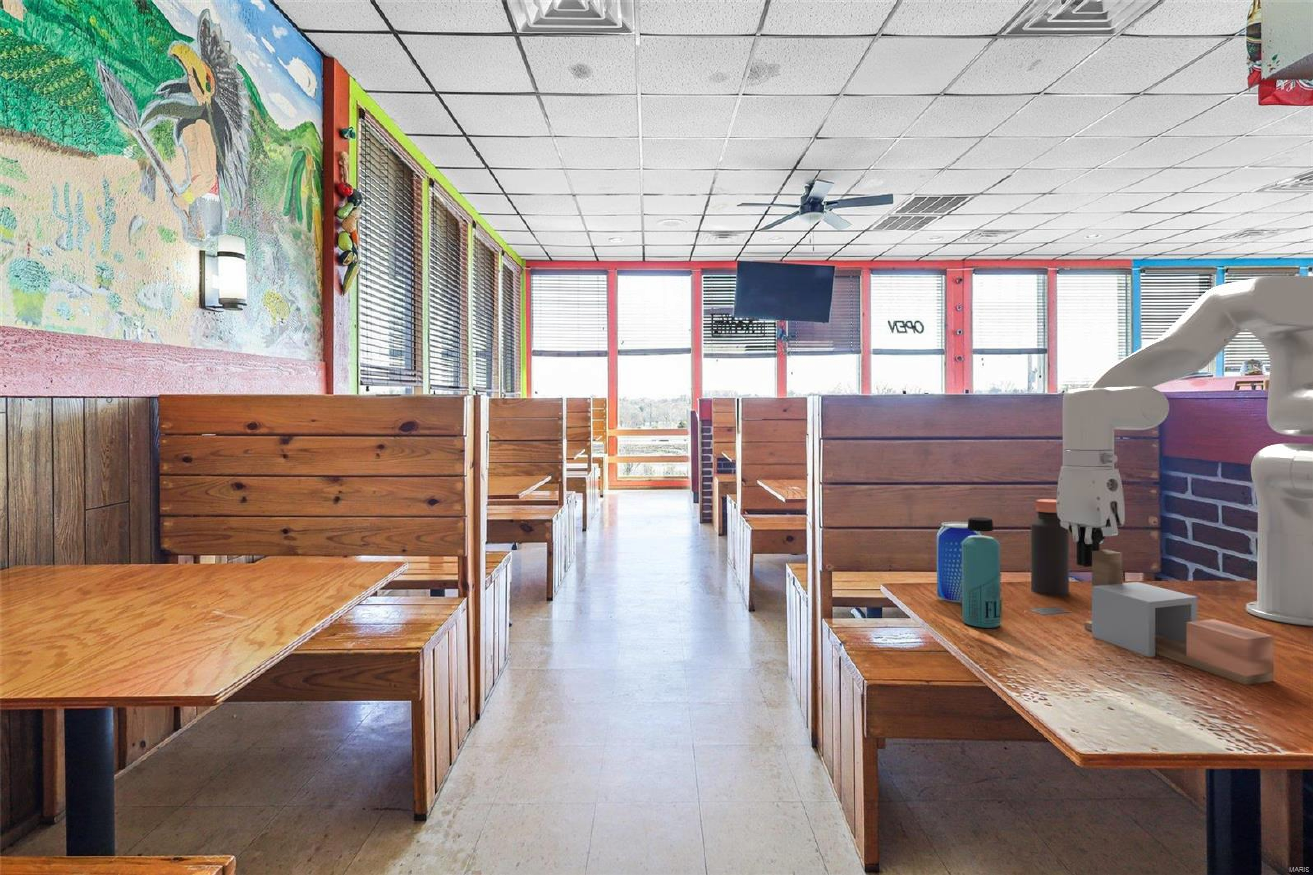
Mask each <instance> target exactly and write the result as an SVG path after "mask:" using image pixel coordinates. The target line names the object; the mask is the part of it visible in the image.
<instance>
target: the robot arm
mask: <svg viewBox="0 0 1313 875" xmlns="http://www.w3.org/2000/svg"><path fill="white" fill-rule="evenodd" d="M1245 330H1247V331H1248V332H1249V333H1250V334H1252V335H1253V336H1254V337H1255V338H1256V339H1257V340H1258V341H1259V342H1260V343H1261V345H1263V347H1264V349H1265V350H1266V352H1267V355H1268V358H1269V379H1268V392H1267V404H1266V420H1267V424H1268V426H1269V427H1270V428H1271V430H1273V431H1275V432H1276V433H1277V434H1282V435H1285V436H1295V437H1313V275H1266V276H1258V277H1253V278H1249V279H1245V280H1238V281H1234V282H1229V283H1223V284H1220V285H1217V286H1215V287H1212V288H1210V289H1209V290H1207V291H1205V293H1203V294H1202V295H1201V296H1200V297H1199V298H1198V299H1197V300H1196V301H1195V302H1194V303H1193V304H1192V305H1191V306H1190V307H1189V308H1188V309H1187V310H1186V311H1185V312H1184V313H1183V314H1182V315H1181V316H1180V317H1179V318H1178V319H1177V320H1176V321H1175V322H1174V323H1173V324H1171V326H1170V327H1169V328H1168V329H1167V330H1166V331H1165V332H1164V333H1163V334H1162V335H1161V336H1160V337H1159V338H1157V339H1156V340H1154V341H1152V342H1150V343H1148V344H1147V345H1145V346H1143V347H1141V348H1140V349H1138V350H1137V351H1135V352H1133V353H1132V354H1130V355H1128V356H1126V357H1125V358H1123V359H1121V360H1120V361H1118V362H1117V363H1115V364H1113V365H1112V366H1111V367H1109V368H1108V369H1107V370H1106V371H1104V373H1102V374H1101V375H1100V376H1099V377H1098V378H1097V379H1096V380H1095V381H1094V382H1093V383H1092V384H1091V385H1090V386H1089V388H1076V389H1075V388H1073V389H1070V390H1069V389H1068V390H1067V391H1065V393H1064V394H1063V396H1062V466H1061V467H1060V471H1059V475H1058V480H1057V481H1058V482H1057V487H1056V488H1057V490H1056V500H1057V515H1058V518H1059V519H1060V520H1061V522H1060V525H1061V526H1062V527H1064V528H1066V529H1068V530H1069V533H1070V534H1071V535H1072V539H1073V541H1074V542H1076V565H1078V566H1082V567H1085V568H1088V567H1092V551H1096V550H1100V544H1103V543H1104V539H1106V538H1107V537H1114V536H1118V535H1119V530H1118V527H1122V526H1124V524H1125V521H1126V515H1125V514H1126V513H1125V496H1124V495H1125V494H1124V489H1123V482H1122V478H1121V474H1120V472H1119V469H1118V468H1115V463H1117V462H1118V459H1119V458H1118V455H1116V454H1115V430H1122V431H1123V430H1124V431H1127V430H1128V431H1141V430H1142V431H1144V430H1149V429H1150V430H1151V429H1152V428H1155V427H1158V425H1160V424H1162V423H1163V422H1164V421H1165V419H1166V418H1167V416H1168V414H1169V412H1170V403H1169V400H1168V398H1167V397H1166V396H1165V395H1164V394H1163V392H1162V391H1160V390H1158V389H1156V388H1155V387H1157V386H1159V385H1162V384H1165V383H1169V382H1173V381H1175V380H1176V381H1177V380H1179V379H1182V378H1184V377H1187V376H1191V375H1193V374H1195V373H1197V372H1199V371H1202V370H1203V369H1205V368H1206V367H1207V366H1209V365H1210V363H1211V362H1212V361H1213V360H1214V359H1215V358H1216V357H1217V356H1218V355H1219V354H1220V353H1221V352H1222V351H1224V348H1226V347H1227V346H1228V345H1229V344H1230V343H1231V341H1233V340H1234V338H1236V337H1237V335H1238V334H1240V333H1241V332H1243V331H1245ZM1250 474H1251V475H1250V476H1251V480H1252V484H1253V487H1254V491H1255V495H1256V504H1257V506H1256V507H1257V574H1256V575H1257V578H1256V579H1257V580H1256V581H1257V582H1256V583H1257V585H1256V586H1257V587H1256V594H1257V596H1256V598H1257V599H1256V600H1255V601H1250V602H1248V603H1246V604H1245V611H1246V612H1248V613H1249V614H1251V615H1252V616H1256V617H1258V618H1262V619H1266V620H1270V621H1273V622H1274V621H1275V622H1279V623H1284V624H1290V625H1291V624H1292V625H1300V626H1310V627H1313V443H1298V442H1297V443H1295V442H1292V443H1291V442H1289V443H1288V442H1286V443H1277V444H1271V445H1268V446H1266V447H1264V448H1262V449H1260V450H1258V452H1257V453H1256V454H1255V455H1254V456H1253V458H1252V461H1251V464H1250Z"/></svg>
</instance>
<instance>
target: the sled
mask: <svg viewBox="0 0 1313 875" xmlns="http://www.w3.org/2000/svg"><path fill="white" fill-rule="evenodd" d="M1121 583H1123V552H1119V551H1114V550H1109V549H1099V550H1096V551H1092V566H1091V587H1092V586H1100V585H1111V584H1121ZM1084 629H1085V630H1086V631H1091V632H1092V620H1088V621H1084ZM1274 641H1275V636H1274V635H1272V634H1268V633H1265V632H1262V631H1257V630H1254V629H1249V628H1246V627H1243V626H1239V625H1235V624H1232V623H1228V622H1225V621H1221V620H1217V619H1214V618H1213V619H1202V620H1197V621H1193V622H1187V644H1184V643H1181V642H1178V641H1175V640H1172V639H1169V638H1166V637H1163V636H1160V635H1157V634H1155V655H1158V656H1162V657H1165V658H1168V659H1169V660H1173V661H1175V662H1178V663H1181V664H1185V665H1187V666H1190V667H1193V668H1194V669H1195V668H1196V669H1199V670H1202V671H1205V672H1207V673H1209V674H1213V675H1216V676H1219V677H1221V678H1225V679H1228V680H1230V681H1233V682H1235V683H1237V684H1241V685H1244V686H1248V685H1254V684H1261V683H1262V684H1263V683H1269V682H1274V676H1275V675H1274V674H1275V673H1274V669H1275V668H1274V667H1275V666H1274V663H1275V662H1274V661H1275V660H1274V657H1275V656H1274V653H1275V652H1274V651H1275V649H1274V648H1275V642H1274Z"/></svg>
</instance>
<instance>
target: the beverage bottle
mask: <svg viewBox="0 0 1313 875" xmlns="http://www.w3.org/2000/svg"><path fill="white" fill-rule="evenodd" d="M967 522H968V527H967V529H968V530H972V531H979V532H985V533H986V532H993V531H994V521H993V519H992V518H989V517H984V516H983V517H982V516H981V517H980V516H978V517H977V516H974V517H969V518H968V520H967ZM981 535H982V534H981ZM981 535H972V536H968V537H967V538H965V539H964V540H963V541H962V542H961V545H962V594H961V595H962V603H961V615H960V616H961V618H962V622H964V623H965V624H966V625H969V626H973V627H977V628H987V629H988V628H997V627H999V626H1000V625H1001V623H1002V617H1003V614H1002V612H1003V611H1002V610H1003V608H1002V604H1003V603H1002V602H1003V598H1002V597H1001V596H1002V594H1001V593H1002V589H1001V588H1002V586H1001V584H1002V582H1001V580H1002V573H1001V571H1002V570H1001V569H1002V567H1001V566H1002V563H1001V562H1002V561H1001V544H1000V542H999V540H997V539H996V538H995V537H992V536H988V535H982V536H981Z"/></svg>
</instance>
